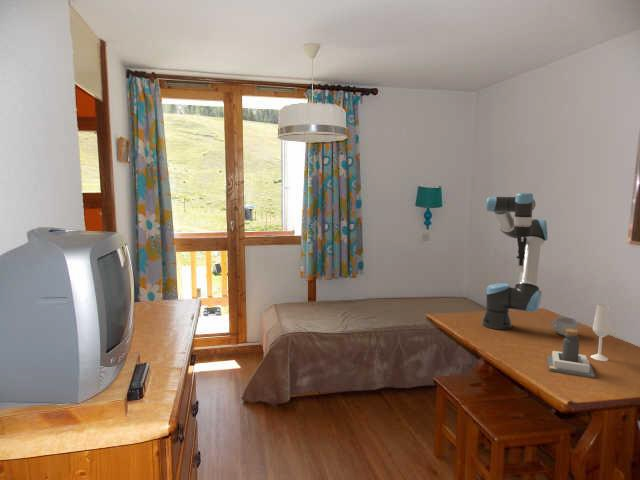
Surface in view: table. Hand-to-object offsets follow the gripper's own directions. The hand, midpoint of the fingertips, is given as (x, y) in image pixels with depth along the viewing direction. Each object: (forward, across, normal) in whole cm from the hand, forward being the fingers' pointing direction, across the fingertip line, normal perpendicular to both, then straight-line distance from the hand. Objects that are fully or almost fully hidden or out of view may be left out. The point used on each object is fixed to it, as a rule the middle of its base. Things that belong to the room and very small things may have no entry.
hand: (520, 269), depth 204 cm
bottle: (+36, -22, -20) cm, 47 cm away
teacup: (+37, +24, -22) cm, 49 cm away
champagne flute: (+37, -6, -34) cm, 50 cm away
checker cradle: (+36, -22, -20) cm, 47 cm away
